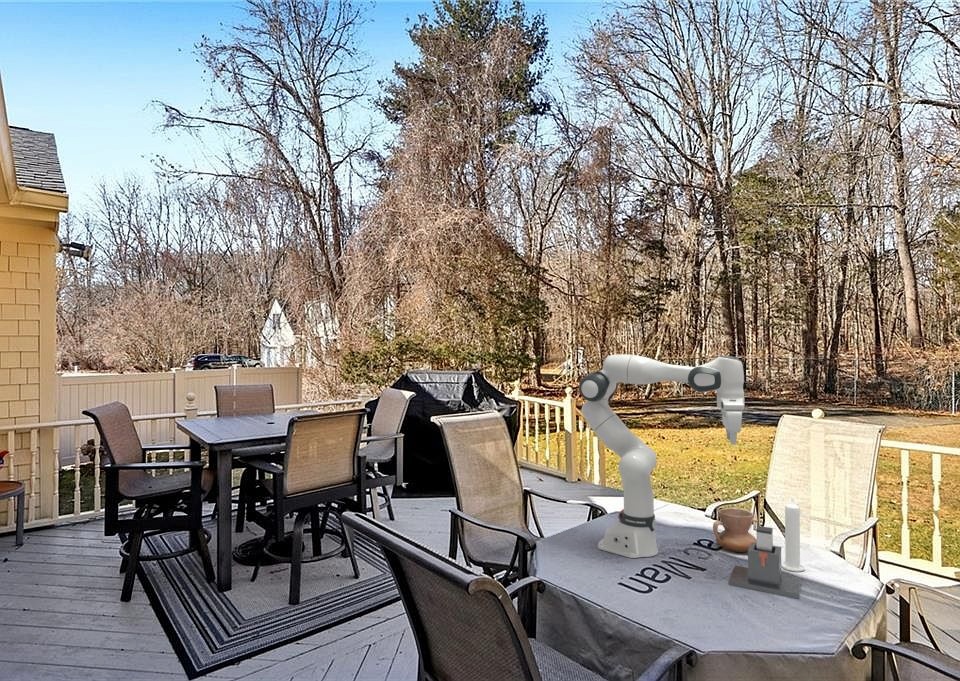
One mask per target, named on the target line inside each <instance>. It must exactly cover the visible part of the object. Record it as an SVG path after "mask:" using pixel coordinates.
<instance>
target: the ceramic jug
mask: <svg viewBox="0 0 960 681" xmlns="http://www.w3.org/2000/svg"><path fill="white" fill-rule="evenodd" d="M718 516H719V520H716V521H714V522H713V524H712V530H713V531H712V532H713V534H714V535H715V538H716V543H717V544H718V545H719V547H721V548H723V549H725V550H728V551H730V552H733V553H734V552H736V553H748V549H749V547H750V544H751V542H755V543H757V537H755V536H754V535H753V534H752V533H750V532H749V531H750V528H751V526H752V524H753V522H754V523H758V519H757V518H756V517H754V513H753V512H752V511H750V510H748V509H745V508H738V507H736V508H735V507H728V508H721V509H719V510H718ZM720 525H721V526H722V527H723V529H724V530H722V531H721V532H719V531H718V530H719V529H718V528H719V526H720Z"/></svg>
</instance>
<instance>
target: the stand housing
mask: <svg viewBox="0 0 960 681" xmlns="http://www.w3.org/2000/svg"><path fill="white" fill-rule="evenodd" d="M781 564H782V546H778V545H777V546H776V545H773V553H770V552H764V551H758V550H757V543H755V542H751V544H750V547H749V549H748V552H747V567H746V566H745V567H744V566H739V565H734V567H733V570H732V572H731V573H730V576H729V578H728V585H730V586H733V587H738V586H739V588H743V589H745V588H746V589H748V590H753V589H754V591H759V592H763V593H769V594H773V595H778V596H782V597H783V596H784V597H787V598H793V599H799V598H800V590H801V584H802V577H799V576H793V575H788V574H782V567H781Z"/></svg>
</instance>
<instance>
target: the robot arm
mask: <svg viewBox="0 0 960 681" xmlns="http://www.w3.org/2000/svg"><path fill="white" fill-rule="evenodd" d="M661 382H677V383H685V384H686V383H687V384H688V385H689V387H690V388H691V389H692V390H693V391H695V392H697V393H709V392H712V391H716V407H717V408H719V409H720V412H721V416H722V417H721V418H722V420H721V421H722V425H723V426H724V428H725V431H726V432H725V433H726V439H727V441H729V444H730V445H734V446H735V445H737V437H738V433H741V430H742V423H743V411H744V410H745V408H746V407H745V406H746V405H745V391H744V383H745V374H744V366H743V362H742V361H741V359H739V358H738V357H735V356H730V355H719V356H718V357H716V358H715V359H713V360H711V361H709V362H706V363H703V364H701V365H698V366H687V365H681V364H680V365H678V364H670V363H667V362H662V361H659V360H656V359H652V358H649V357H648V356H647V357H646V356H642V355H637V354H624V353H623V354H622V353H621V354H610V355H608V356H607V357H606V358H605V359H604V361H603V365H602V369H601V370H597V371H594V372H590V373H589V374H587V375H585V376H584V377H583V378H582V379H581V380H580V382H579V385H578V391H579V394H580V396H581V397H582V398H583V400H586V401H585V402H584V403H583V405H582V407H581V414H582V416H583V417H584V419H585V422H586V423H587V424H588V425H589V428H590V429H591V430H592V431H593V432H594V434H595V435H596V436H597V438H598V439H600V441H601V442H602V443H603V445H604V446H605V447H606V448H607V449H609V450H610V451H612V452H613V453H615V454H616V455H617V456H618V457H619V458H620V460H619V463H618V471H619V474H620V479H621V483H622V490H623V508H622V509H621V510H620V512H619V513H618V515H617V519H618V521H617V522H615V523H613V524H612V525H610V526H609V527H607V529H606V530H605V532H604V535H603V538H602V539H600V540H599V542H598V543H597V548H598V549H599V550H602V551H605V552H609V553H611V554H615V555H619V556H622V557H626V558H630V559H638V558H648V557H650V558H651V557H654V556H656V555H658V554H659V553H660V552H659V549H658V545H657V540H656V532H655V530H656V516H655V513H654V512H655V511H654V507H655V505H654V503H655V502H654V501H655V500H654V497H655V496H654V491H653V486H652V482H651V474H652V471H654V469H656V467H657V459H658V457H657V454H656V452H655V451H654V450H653V449H652V448H651V447H649V446H648V445H647V444H646V443H645V442H644V441H643V440H642V439H640V438H639V437H638V436H637V435H636V434H635V433H634V432H632V431H631V430H630V429H629V428H628V426H627V425H626V424H625V423H624V422H623V421H622V419H621V418H620V417H619V416H618V415H617V414H616V413H615V411H614V410H613V409H612V408H611V407H610V405H609V401H611V400H612V398H613V397H614V395H615V394H616V392H617V389H618V386H619V383H625V384H630V385H650V384H655V383H661Z"/></svg>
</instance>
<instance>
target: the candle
mask: <svg viewBox="0 0 960 681" xmlns="http://www.w3.org/2000/svg"><path fill="white" fill-rule="evenodd" d="M800 511H801V510H800V506H799V505H798V504H797V503H796V502H795V499H794V496H791V497H790V501H789V502H788V503H787V504H785V505H784V528H785V529H784V531H785V532H784V533H785V534H784V535H785V536H784V538H785V540H784V541H785V542H784V544H785V545H784V546H785V548H784V551H785V554H784V556H785V557H784V559H785V562H781V569H783V568H784V570H785V569H786V570H785V571H788V570H789V572H792V571H795V572H794V573H801V572H804V571H805V567H804V565H802V564H801V537H800V536H801V528H800V527H801V523H800V521H801V520H800V518H801V517H800V515H801V513H800Z"/></svg>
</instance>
